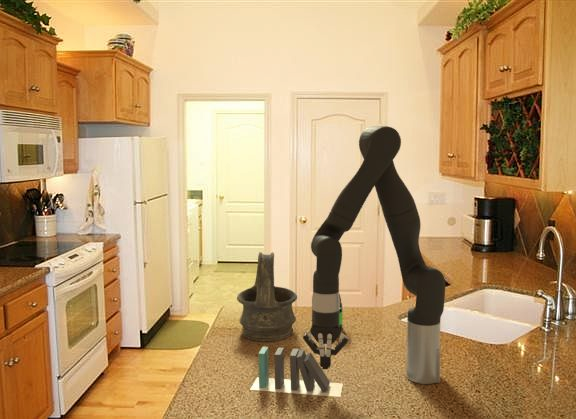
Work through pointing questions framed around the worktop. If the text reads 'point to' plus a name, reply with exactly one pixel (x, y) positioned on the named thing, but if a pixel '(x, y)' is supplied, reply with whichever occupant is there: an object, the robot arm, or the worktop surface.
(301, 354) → the domino
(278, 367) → the domino
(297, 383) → the domino
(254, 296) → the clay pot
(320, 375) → the domino
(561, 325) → the worktop surface
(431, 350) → the robot arm
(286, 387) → the strip
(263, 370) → the domino
